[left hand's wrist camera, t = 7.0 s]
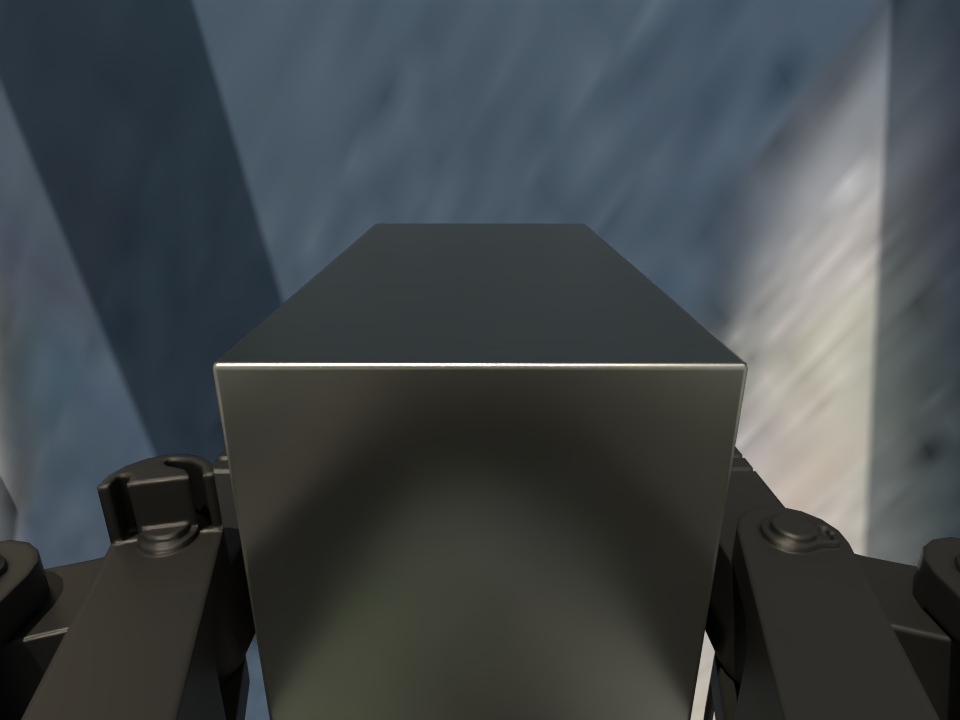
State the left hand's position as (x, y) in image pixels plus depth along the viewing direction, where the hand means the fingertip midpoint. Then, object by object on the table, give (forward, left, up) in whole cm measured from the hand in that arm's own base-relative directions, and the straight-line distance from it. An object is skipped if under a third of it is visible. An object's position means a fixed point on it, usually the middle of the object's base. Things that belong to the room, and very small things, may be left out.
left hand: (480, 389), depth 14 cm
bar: (+7, +4, -1) cm, 8 cm away
